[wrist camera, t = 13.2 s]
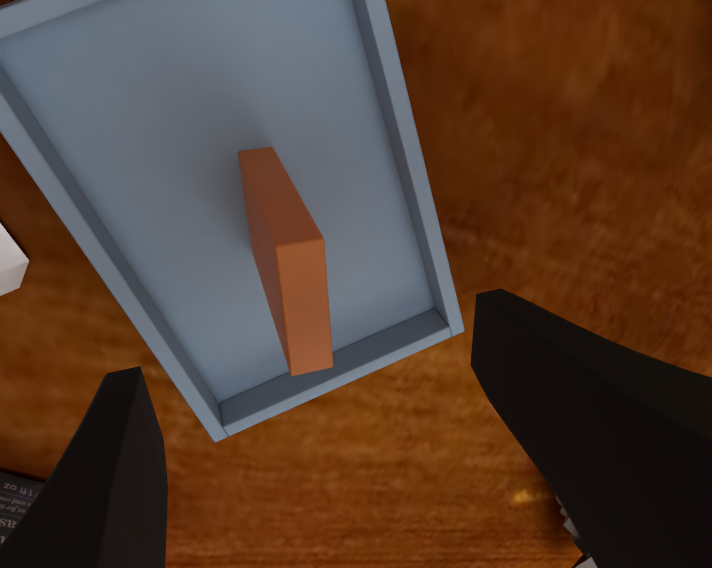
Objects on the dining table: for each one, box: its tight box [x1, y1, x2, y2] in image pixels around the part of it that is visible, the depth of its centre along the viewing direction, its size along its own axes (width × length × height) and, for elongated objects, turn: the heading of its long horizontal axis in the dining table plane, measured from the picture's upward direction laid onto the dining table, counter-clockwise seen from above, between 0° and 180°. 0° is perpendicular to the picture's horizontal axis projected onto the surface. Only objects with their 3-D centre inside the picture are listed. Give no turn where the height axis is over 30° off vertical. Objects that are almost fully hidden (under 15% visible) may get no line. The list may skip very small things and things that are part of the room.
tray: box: [0, 0, 465, 442], centre depth 20 cm, size 11×16×2 cm
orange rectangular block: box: [238, 147, 333, 376], centre depth 17 cm, size 1×4×7 cm, turn 2°
